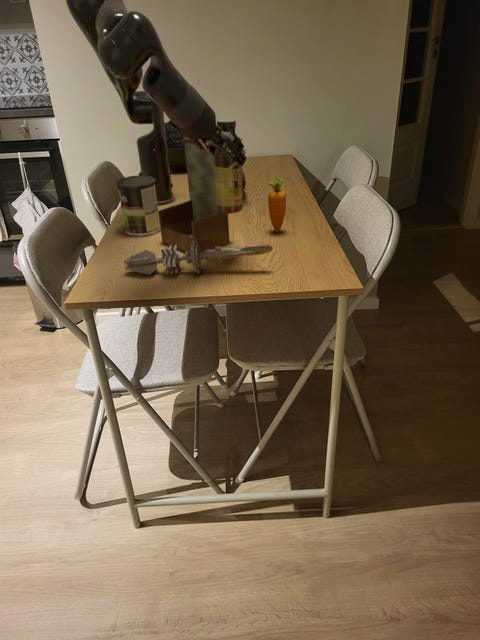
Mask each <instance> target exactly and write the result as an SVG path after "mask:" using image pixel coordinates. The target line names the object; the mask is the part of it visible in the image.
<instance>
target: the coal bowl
mask: <svg viewBox="0 0 480 640" xmlns="http://www.w3.org/2000/svg"><path fill="white" fill-rule="evenodd" d="M164 123H165V133H166V143H167V151H168V159H169V168H172V169H175V170H187V165H186V155H185V145H184V143H183V138H187V136H186V135H185V134H184V133H183V132H182V131H181V130H180V129H179V128H178V127H177V126H176V125H175V124H174V123H173V122H172V121H171V120H170V119H169V120H168V121H167V122H165V121H164Z"/></svg>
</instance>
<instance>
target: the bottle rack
mask: <svg viewBox="0 0 480 640" xmlns="http://www.w3.org/2000/svg"><path fill="white" fill-rule="evenodd" d="M198 141H199V140H198ZM183 143H184V145H185V155H186V165H187V169H186V173H187V175H186V176H187V185H188V195H189V200H186V201H183V202H179V203H177V204H175V205H170V206H168V207H165V208H162V209H158V214H159V221H160V228H161V229H160V235H161V242H162V244H163V245H166V246H168V247H170V246H172V248H174V245H177V248H176V250H179V251H181V252H184V253H185V252H190V253H191V251H190V248H191V243H192V240H193V239H195V240H196V241H197V243H198V245H199V248H200V251H201V252H204V251H205V250H208V249H214V248H215V247H216V246H220V247H221V248H222V247H224V246H226V245H228V244H230V243H231V242H230V225H229V214H228V213H221V212H219V211H218V210H217V204H216V189H215V170H214V165H215V160H214V156H213V155H212V153H211V152H207V151H206V149H205V148H204V149H200V148H199V147H198V146H197V145H196V144H195V143H194V142H193V141H192V140H190V139H189V138H183ZM199 143H200V142H199ZM191 234H192V236H189V235H191Z"/></svg>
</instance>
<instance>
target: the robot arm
mask: <svg viewBox="0 0 480 640" xmlns="http://www.w3.org/2000/svg"><path fill="white" fill-rule="evenodd" d="M65 3H66V6H67V9H68V11H69V14H70V15H71V17H72V19H73V21H74V22H75V24H76V25H77V27H78V28H79V30H80V31H81V33H82V34H83V36H84V37H85V39H86V40H87V43H89V45H90V46H91V48H92V50H93V52H94V53H95V54H96V57H97V58H98V61H99V63H100V65H101V67H102V68H103V71H104V72H105V74H106V77H108V79H109V81H110V82H111V84H112V86H113V87H114V89H115V91H116V93H117V95H118V97H119V98H120V102H121V103H122V105H123V108H124V111H125V113H126V115H127V117H128V119H129V121H130V122H131V123H133V124H135V125H153V126H152V127H153V128H152V129H151V130H150V131H149V132H148V133H145V134H142V135H141V136H139V137H138V138H137V139H136V146H137V155H138V161H139V168H140V172H139V173H138V175H144V176H151V177H153V178H154V179H155V189H156V197H157V204H158V205H163V204H164V205H165V204H169V203H171V202H172V201H173V200H174V193H173V189H174V183H173V182H172V177H171V169H170V168H171V167H169V159H168V151H167V143H166V133H165V123H166V122H165V116H166V117H167V118H168V119H169V121H170V120H171V121H172V122H173V123H174V124H175V125H176V126H177V127H178V128H179V129H180V130H181V131H182V132H183V133H184V134H185V135H186V136H187V138H189V139H190V140H192V141H193V142H194V143H195V144H196V145H197V146H198V147H199V148H200V149H204V148H205V149H206V151H207V152H211V153H212V155H213V156H214V152H215V149H216V148H217V149H219V150H220V151H221V152H224V151H225V152H227V153H228V154H229V155H231V157H232V158H233V159H234V160H235V161H236V162H237V163H238V164H239V165H240V166H242V167H243V166H244V165H245V163H246V161H247V156H246V154H245V155H244V154H243V153H242V152H241V151H242V149H244V148H245V145H244V143H243V142H241V141H240V139H241V138H240V139H239V138H238V137H239V136H238V135H237V134H236V131H235V132H234V131H233V130H231V129H229V131H228V132H224V131H223V130H222V128H221V127H220V126H218V125H217V115H216V112H215V111H214V109H213V108H212V106H211V105H210V104H209V103H208V102H207V101H206V100H205V99H204V98H203V96H202V95H201V94H200V93H199V92H198V90H197V89H196V88H195V87H194V86H193V85H192V84H191V83H190V82H188V81H187V79H186V78H185V77H184V76H183V75H182V74H181V72H180V71H179V70H178V68H176V67H175V65H174V63H173V62H172V61H171V60H170V58H169V56H168V54H167V52H166V50H165V48H164V45H163V44H162V43H163V42H162V40H161V38H160V36H159V35H158V32H157V30H156V28H155V26H154V25H153V23H152V21H151V20H150V18H148V16H146V15H145V14H144V13H142V12H139V11H136V10H129V11H128V9H127V6H126V3H125V2H124V0H65ZM149 60H150V61H149ZM148 61H149V65H148V67H147V69H146V71H145V72H144V71H143V66H145V64H146V63H147V62H148ZM140 85H141V86H142V89H143V90H138V89H139V87H140ZM164 122H165V123H164ZM198 140H199V141H198ZM223 141H224V145H223V147H222V146H220V145H221V144H222V143H223ZM199 142H200V143H199ZM228 147H229V148H230V149H231V150H229V149H228Z"/></svg>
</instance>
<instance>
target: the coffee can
mask: <svg viewBox="0 0 480 640" xmlns="http://www.w3.org/2000/svg"><path fill="white" fill-rule="evenodd" d="M116 186H117V190H118V197H119V201H120V208H121V213H122V218H123V219H122V220H123V223H124V232H125V234H127V235H129V236H133V237H144V236H149V235H153V234H156V233H158V232H159V231H161V228H160V221H159V214H158V211H159V206H158V205H159V204H157V197H156V189H155V179H154V178H153V177H151V176H144V175H139V174H138V175H130V176H125V177H122V178H119V179H118V180H117V181H116Z"/></svg>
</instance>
